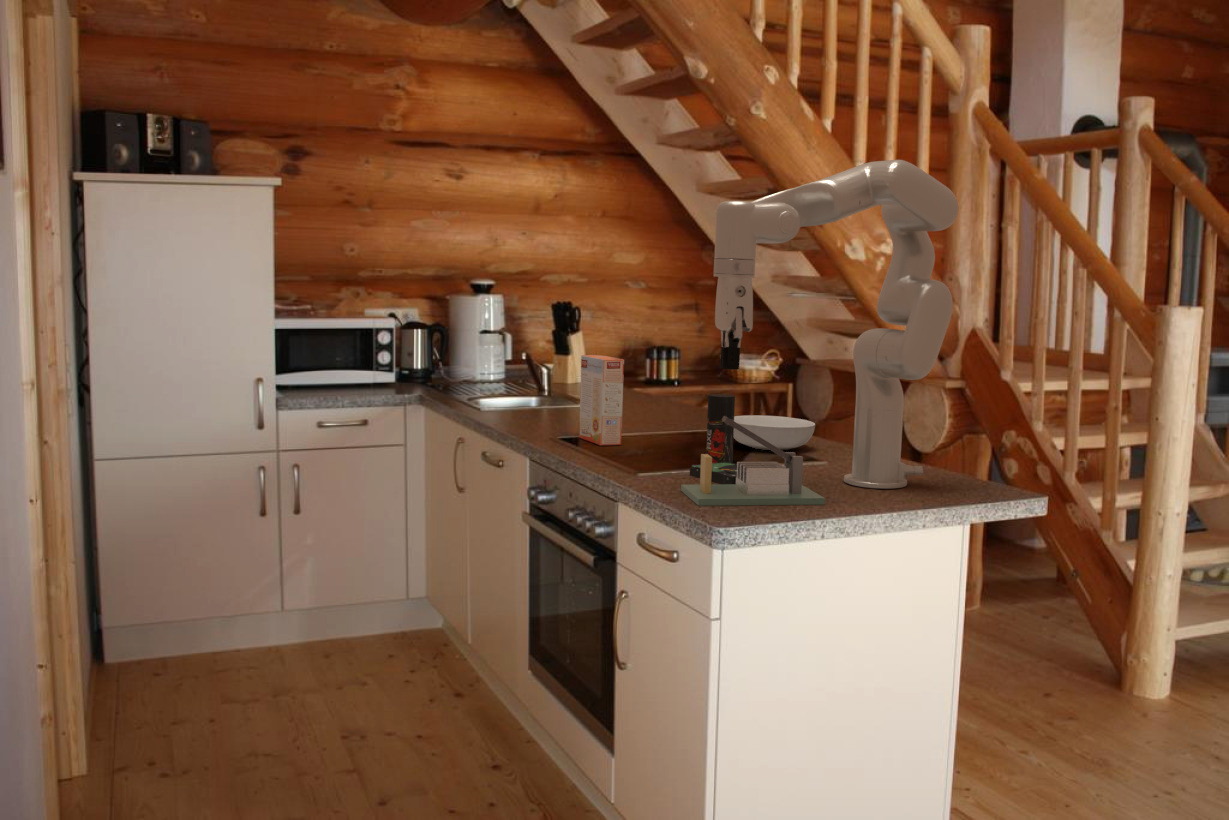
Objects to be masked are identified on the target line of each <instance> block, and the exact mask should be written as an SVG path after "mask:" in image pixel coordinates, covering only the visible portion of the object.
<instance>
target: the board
mask: <svg viewBox="0 0 1229 820" xmlns="http://www.w3.org/2000/svg"><path fill="white" fill-rule="evenodd" d="M784 452H785V451H784ZM785 453H787V454H788V455H794V456H792V465H790V464H789V463H788V462H787V460H786V459H784V465H783V466H786V468H789V482H788V484H789V495H746V494H744V493H743V492H742V491H740V490H739V489H737V488H736V484H719V483H717V484H713V483H712V481H711V473H712V457H711V456H709V455H708V454H706V453H705V454H704V453H701V454H700V465H701V471H700V478H699V484H681V485H680V487H681V488H680V491H681V492H682V493H683V494H685V496H687V497H688V499H690V500H691V501H693V502H694V504H696V505H697V506H701V507H703V506H704V507H706V506H800V505H801V506H802V505H803V506H807V505H808V506H810V505H811V506H813V505H815V506H816V505H820V506H821V505H822V506H823V505H824V506H825V502H826V497H823V496H822V495H820V494H819V493H817V492H815V491H814V490H812V489H810V488H808V487H807V486H805V485H803V466H804V465H803V464H804V456H803V455H796V452H794V451H792V452H791V451H790V452H789V451H788V452H787V451H786V452H785Z"/></svg>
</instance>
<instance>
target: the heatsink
mask: <svg viewBox="0 0 1229 820" xmlns="http://www.w3.org/2000/svg"><path fill="white" fill-rule="evenodd" d="M736 464H737V477H736V488H737V489H739V490H740V491H742V492H743V493H744V494H746V495H789V484H788V482H789V468H786V466H784V465H783V464H782V463H779V461H737V462H736Z"/></svg>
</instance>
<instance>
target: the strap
mask: <svg viewBox="0 0 1229 820" xmlns="http://www.w3.org/2000/svg"><path fill="white" fill-rule="evenodd" d="M722 421H724V422H725V423H727V424H728V425H730V426H732V427H733V428H735V429H737V430H738V431H740V432H742V433H743V434H745V435H747V436H748V437H750V438H751V439H753V440H755V441H756V442H758V443H760V444H761V445H763V446H765V447H766V448H768V449H770V450H771V451H770V452H773V453H774V454H776V455H778V456H779V457H780V458H783V459H784V460H785V459H786V460H787V462H788V463H789V464H790V465H792V456H794V455H788V454H787V453H785V451H782V450H780V449H779V448H777V447H775V446H774V445H772V444H770V443H769V442H767V441H766V440H764V439H762V438H761V437H759V436H757V435H756V434H754V433H752V432H751V431H749V430H747V429H746V428H744V427H743V426H741V425H739V424H738V423H736V422H734V421H733V420H731V419H729V418H728V417H726V416H723V418H722Z"/></svg>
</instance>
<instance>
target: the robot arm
mask: <svg viewBox="0 0 1229 820" xmlns="http://www.w3.org/2000/svg"><path fill="white" fill-rule="evenodd" d="M878 206H881V217H882V221H883V223H884V224H885V227H886V229H887V231H888V233H889V235H890V239H891V242H892V255H891V259H890V261H889V262H890V263H889V266H888V269H887V272H886V275H885V278H884V280H883V283H882V286H881V290H880V292H879V295H878V299H877V301H876V302H877V304H876V313H877V315H878V317H879V318H880V319H881V320H882V322H885V323H887V324H891V325H894V326H895V325H896V326H904V327H905V329H904V330H900V329H894V328H884V327H883V328H882V327H881V328H871V329H868V330H865V331H864V332H862V333H861V334H860V335H859V336H858V337H857V339H856V340H855V343H854V346H853V351H852V356H853V357H852V358H853V367H854V372H855V407H854V408H855V410H854V424H853V425H854V427H853V428H854V429H853V445H852V446H853V447H852V449H853V450H852V464H851V465H852V468H851V473H847V474H845V475H844V476H843V481H844V483H846V484H848V485H851V486H855V487H861V488H869V489H883V490H884V489H886V490H887V489H899V488H900V489H901V488H906V486H907V485H908V479H907V478H906V477H908V476H922V475H923V473H924V469H923V468H924V467H923V466H922V465H908V464H906V463H904V462H902V461H901V455H902V442H903V441H902V439H903V438H902V437H903V424H904V423H903V421H904V409H905V406H904V405H905V395H904V391H903V386H902V383H901V381H900V379H901V380H902V379H903V380H909V381H910V380H912V381H914V380H915V381H916V380H921V379H924V378H925V377H927V376H928V374H930V372H931V371H932V370H933V368H934V366H935V364H936V361H937V360H938V356H939V354H940V350H941V349H942V345H943V342H944V339H945V336H946V334H947V331H948V328H949V325H950V322H951V318H952V314H953V307H954V305H953V302H954V301H953V300H954V299H953V296H952V293H951V291H950V288H949V287H948V286H947V284H945V283H943V282H942V281H940V280H936V279H931V276H932V274H933V271H934V266H935V262H936V254H935V248H934V245H933V242H932V240H931V238H930V236H929V233H928V232H939V231H943V230H946V229H948V228H950V227H952V225H954V223H955V221H956V220H957V218H958V215H959V203H958V199H957V197H956V195H955V194H954V192H953V191H952V190H951V189H950V188H949V187H948V186H946V185H945V184H943V183H942V182H941V181H939V180H937V179H936V178H935V177H934V176H932V175H931V174H929V173H927V172H926V171H924V170H923V169H921V168H920V167H919V166H916V165H915V164H913V163H911V162H910V161H909V162H908V161H907V160H904V159H891V160H877V161H869V162H865V163H862V164H858V165H857V166H854V167H851V168H847V169H846V170H844V171H841V172H838V173H835V174H833V175H832V174H831V175H829V176H827V177H824V178H822V179H821V178H820V179H819V180H814V181H812V182H807V183H805V184H802V185H799V186H796V187H792V188H789V189H785V190H782V191H778V192H776V193H772V194H769V195H766V196H762V197H759V198H758V199H755V200H752V201H745V200H744V201H743V200H726V201H722V202H720V203H718V205H717V208H716V214H715V215H716V216H715V233H714V235H715V238H714V259H713V261H714V262H713V277H714V278H715V277H717V286H716V293H715V294H716V296H715V308H714V309H715V310H714V312H715V313H714V324H715V327H716V328H717V329H718V330H720V335H721V337H720V346H721V348H720V361H719V362H720V367H719V368H720V369H723V370H739V369H740V358H741V356H740V355H741V343H742V338H743V332H746V333H747V332H748V333H750V332H751V331H752V330H753V329H754V328H753V327H754V324H753V323H754V320H753V319H754V317H753V316H754V291H753V288H754V287H753V280H752V279H755V276H756V275H755V272H756V271H755V270H756V258H757V257H756V255H757V252H756V251H757V244H768V245H769V244H774V245H775V244H783V243H788V242H789V241H791V240H793V239H794V238H795V237H796V236H797V235H798V233H799V231H800V229H801V228H802V227H814V226H815V227H816V226H822V225H827V224H830V223H831V224H832V223H835V222H839V221H840V220H843V219H845V218H849V217H850V216H853V215H856V214H858V213H861V212H863V211H866V210H868V209H872V208H873V207H874V208H875V207H878Z"/></svg>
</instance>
